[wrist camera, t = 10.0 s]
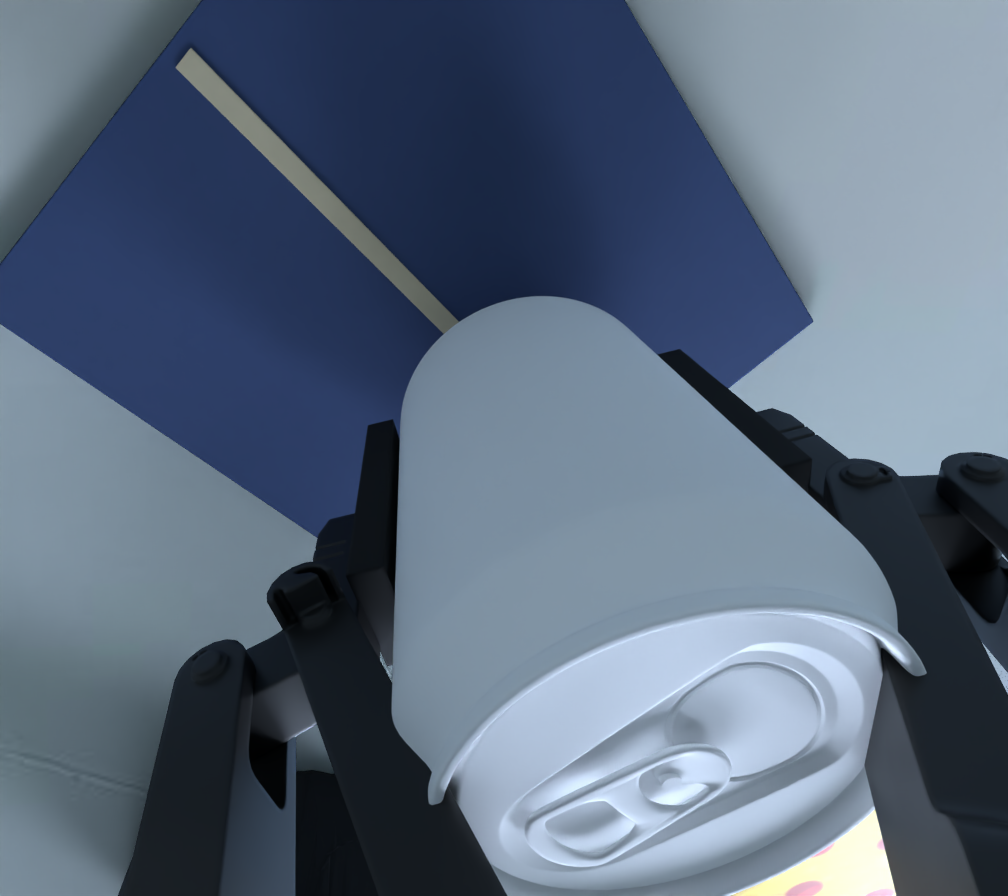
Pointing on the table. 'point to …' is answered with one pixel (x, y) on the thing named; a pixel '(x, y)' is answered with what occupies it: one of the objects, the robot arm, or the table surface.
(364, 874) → the black round tub
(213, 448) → the napkin
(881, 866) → the pizza
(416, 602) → the beverage can
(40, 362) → the table surface
